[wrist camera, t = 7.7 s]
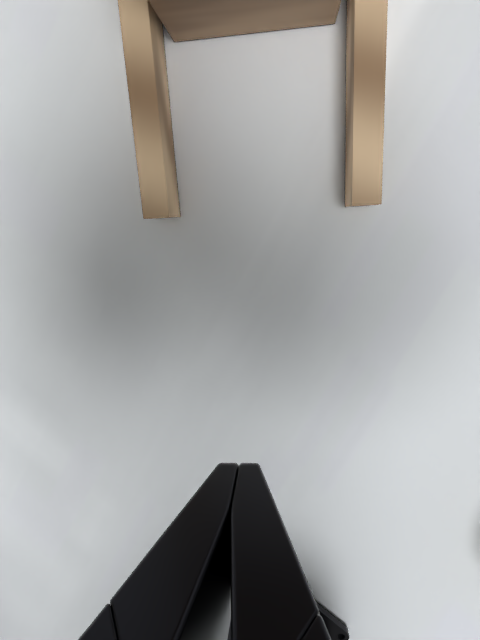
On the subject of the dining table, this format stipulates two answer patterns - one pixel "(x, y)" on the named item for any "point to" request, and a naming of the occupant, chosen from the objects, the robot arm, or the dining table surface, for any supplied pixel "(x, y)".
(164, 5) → the block
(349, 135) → the channel
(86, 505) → the dining table surface
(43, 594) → the dining table surface
